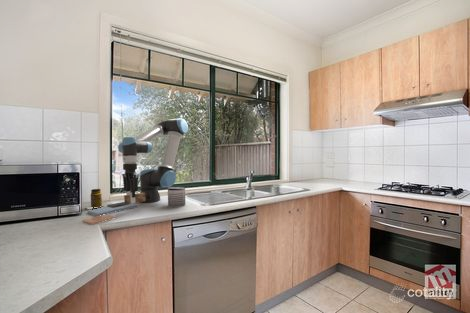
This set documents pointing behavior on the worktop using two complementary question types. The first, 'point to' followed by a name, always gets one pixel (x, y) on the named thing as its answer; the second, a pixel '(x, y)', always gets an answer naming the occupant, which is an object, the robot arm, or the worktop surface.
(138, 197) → the turner
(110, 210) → the board
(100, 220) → the tile
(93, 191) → the condiment
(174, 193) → the can
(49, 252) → the worktop surface
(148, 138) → the robot arm
